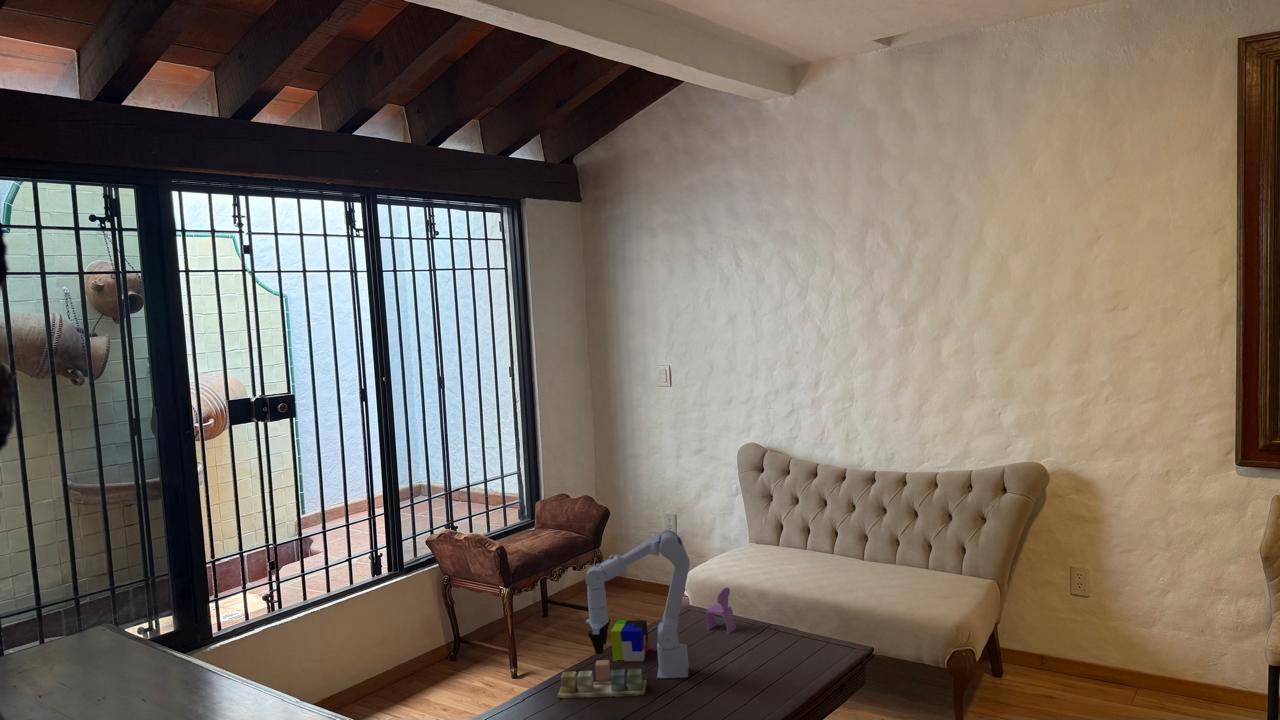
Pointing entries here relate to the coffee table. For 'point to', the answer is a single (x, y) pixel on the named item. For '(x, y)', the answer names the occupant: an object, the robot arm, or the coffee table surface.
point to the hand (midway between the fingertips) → (601, 648)
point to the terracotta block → (602, 670)
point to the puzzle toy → (629, 640)
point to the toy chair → (721, 611)
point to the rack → (602, 684)
